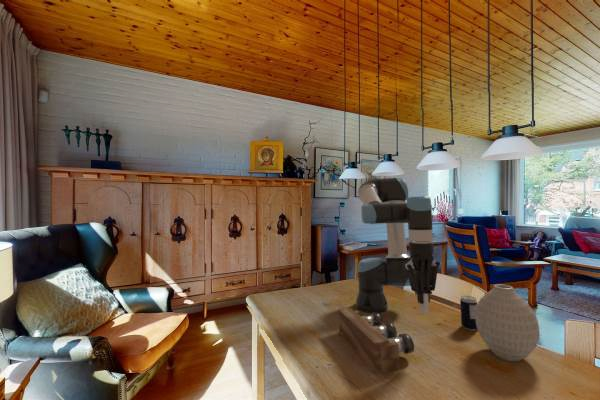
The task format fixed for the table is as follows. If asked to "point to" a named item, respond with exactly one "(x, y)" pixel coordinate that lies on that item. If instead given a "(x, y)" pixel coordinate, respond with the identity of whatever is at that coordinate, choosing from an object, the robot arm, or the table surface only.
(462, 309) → the beverage can
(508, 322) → the vase
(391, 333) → the knob
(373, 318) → the knob
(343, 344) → the table surface
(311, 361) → the table surface
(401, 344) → the knob
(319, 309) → the table surface
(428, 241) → the robot arm
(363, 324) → the wooden rack
